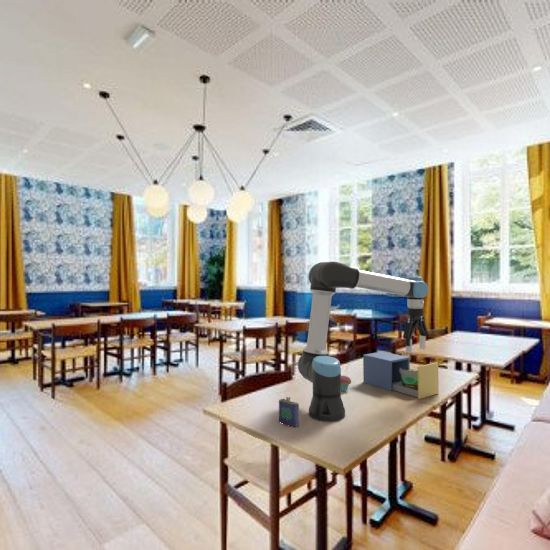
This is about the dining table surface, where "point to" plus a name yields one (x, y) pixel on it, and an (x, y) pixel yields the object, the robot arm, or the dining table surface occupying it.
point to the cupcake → (345, 382)
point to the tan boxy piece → (422, 382)
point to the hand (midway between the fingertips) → (415, 350)
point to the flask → (289, 412)
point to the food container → (409, 378)
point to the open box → (384, 368)
